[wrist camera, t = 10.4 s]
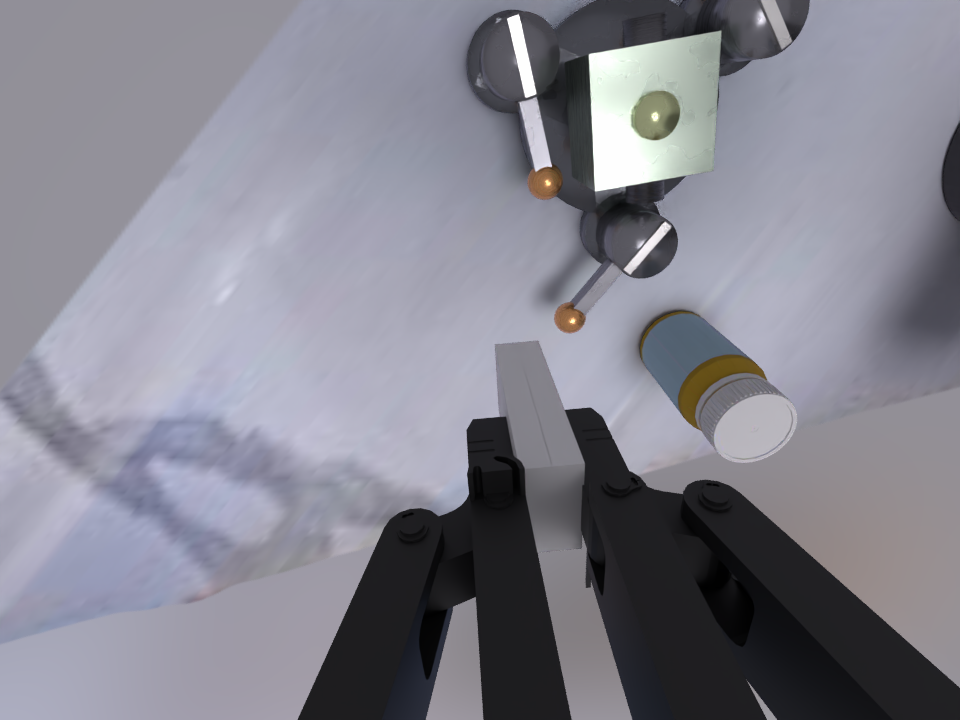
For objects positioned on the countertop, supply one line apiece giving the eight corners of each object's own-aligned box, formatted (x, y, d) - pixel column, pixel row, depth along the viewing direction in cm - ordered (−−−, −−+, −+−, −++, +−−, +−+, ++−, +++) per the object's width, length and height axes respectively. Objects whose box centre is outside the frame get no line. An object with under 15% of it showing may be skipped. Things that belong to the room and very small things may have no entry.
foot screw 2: (623, 189, 40) (647, 202, 36) (664, 224, 42) (692, 240, 37) (532, 301, 44) (543, 326, 40) (573, 329, 46) (588, 356, 41)
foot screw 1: (470, 36, 35) (474, 26, 30) (536, 13, 35) (550, -2, 30) (513, 201, 40) (522, 215, 35) (571, 182, 40) (588, 194, 35)
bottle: (661, 298, 47) (744, 375, 34) (721, 322, 49) (823, 405, 36) (625, 360, 50) (689, 453, 37) (683, 380, 52) (764, 477, 39)
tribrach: (760, -32, 36) (858, -73, 27) (737, 240, 45) (805, 272, 37) (459, 22, 36) (463, -1, 28) (497, 281, 46) (509, 322, 37)
